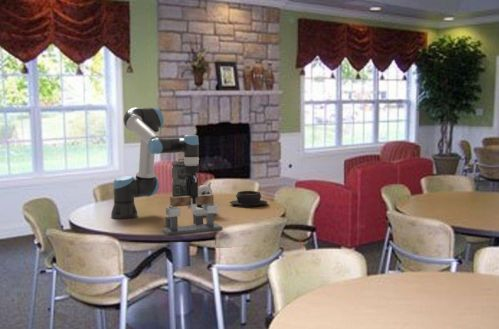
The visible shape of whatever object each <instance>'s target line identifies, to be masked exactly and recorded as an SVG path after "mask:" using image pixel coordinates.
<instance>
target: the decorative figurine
mask: <svg viewBox="0 0 499 329" xmlns="http://www.w3.org/2000/svg"><path fill="white" fill-rule="evenodd" d="M211 184H212V181H210V182H208V183H207V184H202V185H201V184H200V186H199V185H198V195H204V194H212V195H213V190H212V188H211ZM191 212H192V214H193V215H194V214H201V215H203V217H206V212H204V211H203V204H202V205H196V210H191ZM214 215H216V213H214Z"/></svg>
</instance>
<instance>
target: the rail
mask: <svg viewBox="0 0 499 329" xmlns="http://www.w3.org/2000/svg"><path fill="white" fill-rule="evenodd" d="M190 197H191V196H178V197H173V196H170V197H169V200H170V201H169V203H170V204H169V207H177V208H179V207H188V206H190V205H191V198H190ZM202 204H215V203H214V194H213V193H212V194H204V195H198V197H196V206H197V205H202Z"/></svg>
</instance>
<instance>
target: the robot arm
mask: <svg viewBox="0 0 499 329" xmlns="http://www.w3.org/2000/svg"><path fill="white" fill-rule="evenodd" d="M122 119H123V120H122V121H123V124H124V126H125V128H126V129H127V130H128V131H131V132H133V133H135V134H136V135H137V136H138V137H139V138H140V148H139V163H138V171H137V173H135V177H134V175H126V176H120V177H117V178H114V180H113V184H112V185H113V186H112V187H113V188H112V189H113V206H112V210H111V213H110V214H111V215H110V218H112V219H118V220H122V219H123V220H124V219H126V220H127V219H133V218H137V217H138V215H139V214H138V209H137V207H136V205H135V199H137V198H145V197H152V196H155V195H156V194H157V193H158V190H159V189H160V188H159V187H160V183H159V178H158V177H157V176H156V174H155V173H154V167H155V166H154V165H155V154H156V155H160V154H170V153H171V154H172V153H173V154H174V153H177V154H178V153H183V154H184V156H183V159H184V160H183V161H184V164H185V166H184V172H185V173H188V175H187V176H186V194H187V195H188V196H191V197H190V198H191V205H190V206H187V209H188V210H189V209H190V211H192V210H196V206H197V205H196V197H198V186H199V178H197V174H198V173H199V171H200V165H199V162H200V161H199V160H200V158H199V156H200V154H199V153H200V152H199V151H200V149H199V147H200V142H199V136H198V135H196V134H185V135H184V136H183V137H174V138H162V137H161V136H160V135H159V134H158V133H159V131H160V128H162V127H163V125H164V120H165V119H164V115H163V113H162V111H161V109H159V108H158V107H153V106H152V107H150V106H149V107H132V108H130V109H128V110H127V111H126V112H125V113H124V116H123V118H122Z"/></svg>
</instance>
